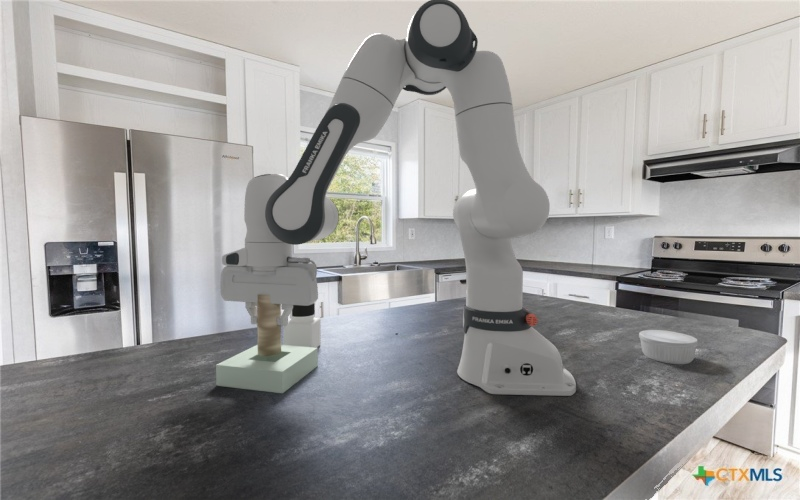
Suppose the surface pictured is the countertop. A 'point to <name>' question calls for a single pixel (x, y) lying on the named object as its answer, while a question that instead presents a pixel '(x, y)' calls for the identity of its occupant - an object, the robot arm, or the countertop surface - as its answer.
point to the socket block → (267, 369)
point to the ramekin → (668, 346)
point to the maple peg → (268, 326)
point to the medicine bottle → (302, 327)
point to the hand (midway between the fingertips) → (269, 324)
